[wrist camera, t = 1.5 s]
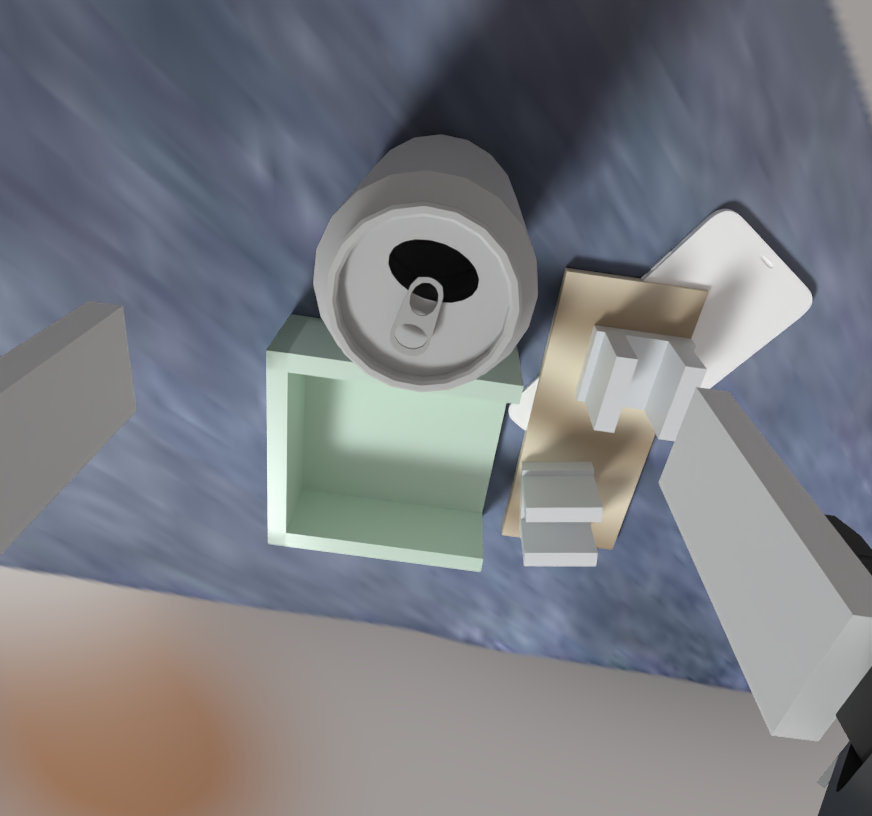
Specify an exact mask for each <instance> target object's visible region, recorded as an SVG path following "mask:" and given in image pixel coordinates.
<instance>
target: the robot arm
mask: <svg viewBox="0 0 872 816" xmlns="http://www.w3.org/2000/svg"><path fill="white" fill-rule="evenodd" d="M135 412H136V403H135V395H134V388H133V380H132V372H131V365H130V357H129V349H128V341H127V334H126V326H125V318H124V311H123V306H121V305H114V304H107V303H100V302H93V301H88V302H86V303H85V304H83V305H81V306H80V307H78V308H77V309H75V310H74V311H72V312H70V313H69V314H67V315H66V316H64V317H63V318H61V319H59V320H58V321H56V322H55V323H53V324H52V325H50V326H48V327H47V328H45V329H44V330H42V331H41V332H39V333H37V334H36V335H34V336H33V337H31V338H30V339H28V340H27V341H25V342H23V343H22V344H20V345H19V346H17V347H16V348H14V349H12V350H11V351H9V352H8V353H6V354H5V355H3V356H1V357H0V555H1V554H2V553H3V552H4V551H5V550H6V549H7V548H8V547H9V546H10V544H11V543H12V542H13V541H14V540H15V539H16V538H17V537H18V536H19V535H20V534H21V533H22V532H23V531H24V530H25V529H26V527H27V526H28V525H29V524H30V523H31V522H32V521H33V520H34V519H35V518H36V517H37V516H38V515H39V514H40V513H41V512H42V511H43V509H44V508H45V507H46V506H47V505H48V504H49V503H50V502H51V501H52V500H53V499H54V498H55V497H56V496H57V495H58V494H59V493H60V491H61V490H62V489H63V488H64V487H65V486H66V485H67V484H68V483H69V482H70V481H71V480H72V479H73V478H74V477H75V476H76V475H77V473H78V472H79V471H80V470H81V469H82V468H83V467H84V466H85V465H86V464H87V463H88V462H89V461H90V460H91V459H92V458H93V456H94V455H95V454H96V453H97V452H98V451H99V450H100V449H101V448H102V447H103V446H104V445H105V444H106V443H107V442H108V441H109V440H110V438H111V437H112V436H113V435H114V434H115V433H116V432H117V431H118V430H119V429H120V428H121V427H122V426H123V425H124V424H125V423H126V422H127V420H128V419H129V418H130V417H131V416H132V415H133V414H134V413H135ZM659 485H660V487H661V489H662V492H663V494H664V496H665V498H666V501H667V503H668V505H669V507H670V510H671V512H672V514H673V516H674V519H675V521H676V523H677V525H678V528H679V530H680V532H681V534H682V537H683V539H684V541H685V543H686V546H687V548H688V550H689V552H690V554H691V557H692V559H693V561H694V563H695V566H696V568H697V570H698V572H699V575H700V577H701V579H702V581H703V584H704V586H705V588H706V590H707V593H708V595H709V597H710V599H711V602H712V604H713V606H714V608H715V611H716V613H717V615H718V617H719V620H720V622H721V624H722V626H723V629H724V631H725V633H726V635H727V638H728V640H729V642H730V644H731V647H732V649H733V651H734V653H735V656H736V658H737V660H738V662H739V665H740V667H741V669H742V671H743V673H744V676H745V678H746V680H747V682H748V685H749V687H750V689H751V691H752V694H753V696H754V698H755V700H756V703H757V705H758V707H759V709H760V712H761V714H762V716H763V718H764V721H765V723H766V725H767V727H768V729H769V732H770V734H771V735H772V736H780V737H789V738H796V739H804V740H811V741H819V740H820V738H821V737H822V736H823V734H824V733H825V732H826V730H827V729H828V728H829V726H830V725H831V724H832V722H833V721H834V720H835V718H836V717H837V718H838V720H839V722H840V724H841V726H842V728H843V729H844V731H845V733H846V734H847V737H848V738H849V740H850V741H849V742H848V744H847V745H846V746H845V748H844V749H843V750H842V751H841V752H840V754H839V755H838V756H837V757H836V759H835V760H834V761H833V762H832V764H831V765H830V766H829V768H828V769H827V770H826V772H825V773H824V774H823V775H822V776H821V778H820V779H819V780H818V781H817V783H818V784H820V785H821V786H822V787H825V786H826V785H827V784H828V783H829V785H828V787H827V790H826V793H825V796H824V799H823V802H822V805H821V808H820V811H819V814H818V816H872V549H871V548H870V547H869V546H868V544H867V543H866V542H865V541H864V539H863V538H862V537H861V536H860V535H859V534H857V533H856V532H855V531H854V530H852V529H851V528H850V527H848V526H847V525H846V524H844V523H843V522H842V521H841V520H839V519H838V518H837V517H835V516H831V515H824V514H823V512H822V511H821V510H820V508H819V507H818V506H817V505H816V503H815V502H814V501H813V499H812V498H811V497H810V496H809V494H808V493H807V492H806V490H805V489H804V488H803V487H802V485H801V484H800V483H799V481H798V480H797V479H796V478H795V476H794V475H793V474H792V472H791V471H790V470H789V469H788V467H787V466H786V465H785V463H784V462H783V461H782V460H781V458H780V457H779V456H778V454H777V453H776V452H775V451H774V449H773V448H772V447H771V445H770V444H769V443H768V442H767V440H766V439H765V438H764V436H763V435H762V434H761V433H760V431H759V430H758V429H757V427H756V426H755V425H754V424H753V422H752V421H751V420H750V418H749V417H748V416H747V415H746V413H745V412H744V411H743V409H742V408H741V407H740V406H739V404H738V403H737V402H736V400H735V399H734V398H733V397H732V395H731V394H730V393H729V392H727V391H720V390H713V389H706V388H699V387H696V389H695V391H694V394H693V396H692V399H691V401H690V404H689V406H688V409H687V411H686V414H685V417H684V419H683V422H682V424H681V427H680V429H679V432H678V434H677V437H676V440H675V442H674V445H673V447H672V450H671V452H670V455H669V457H668V460H667V462H666V465H665V468H664V470H663V473H662V475H661V478H660V480H659Z"/></svg>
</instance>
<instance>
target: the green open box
mask: <svg viewBox="0 0 872 816" xmlns="http://www.w3.org/2000/svg"><path fill="white" fill-rule="evenodd" d="M266 377H267V490H268V544H272V545H280V546H287V547H295V548H303V549H310V550H318V551H325V552H333V553H340V554H348V555H356V556H363V557H371V558H378V559H386V560H394V561H401V562H409V563H416V564H424V565H432V566H439V567H447V568H454V569H462V570H469V571H477V572H480V571H481V567H482V563H483V527H482V512H483V507H484V503H485V498H486V493H487V489H488V484H489V480H490V475H491V471H492V466H493V462H494V457H495V453H496V448H497V444H498V439H499V434H500V430H501V425H502V421H503V416H504V412H505V407H506V403H511V404H520V400H521V395H522V391H523V387H524V385H523V379H522V373H521V367H520V361H519V354H518V348H517V346H515V348H514V349H513V351H512V352H511V354H510V355H509V356H507V357H506V358H505V359H503V360H502V361H501V362H500V363H498V364H497V365H496V366H494V367H493V368H492V369H491V370H489V371H488V372H487V373H485V374H484V375H481V376H480V377H478V378H477V379H476V380H473V381H471V382H468V383H466V384H463V385H460V386H458V387H455V388H453V389H450V390H443V391H431V392H415V391H410V390H405V389H400V388H395V387H391V386H389V385H387V384H385V383H383V382H381V381H379V380H377V379H375V378H373V377H371V376H369V375H367V374H365V373H364V372H363V371H362V370H361V369H360V368H359V367H358V366H357V365H356V364H355V363H353V362H352V361H351V360H350V359H349V358H348V357H347V356H346V355H345V354H344V353H343V351H342V349H341V348H340V347H339V346H338V345H337V344H336V342H335V340H334V338H333V337H332V335H331V333H330V332H329V330H328V328H327V327H326V325H325V323H324V321H323V320H322V318H315V317H308V316H301V315H294V314H291V315H290V316H289V318H288V319H287V321H286V322H285V323H284V325H283V326H282V328H281V329H280V331H279V332H278V334H277V335H276V337H275V338H274V340H273V341H272V342H271V344H270V345H269V347H268V348H267V350H266Z"/></svg>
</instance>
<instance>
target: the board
mask: <svg viewBox="0 0 872 816" xmlns="http://www.w3.org/2000/svg"><path fill="white" fill-rule="evenodd" d="M707 295H708V291H707V290H703V289H696V288H689V287H682V286H675V285H669V284H662V283H655V282H648V281H643V280H642V279H640V278H634V277H627V276H620V275H613V274H606V273H599V272H592V271H585V270H578V269H572V268H565V271H564V275H563V279H562V283H561V287H560V291H559V295H558V300H557V304H556V308H555V312H554V316H553V320H552V324H551V328H550V332H549V336H548V340H547V344H546V349H545V353H544V357H543V361H542V365H541V369H540V373H539V381H538V385H537V389H536V393H535V397H534V401H533V405H532V409H531V413H530V417H529V421H528V425H527V429H526V431H525V434H524V438H523V442H522V446H521V451H520V455H519V459H518V463H517V467H516V471H515V475H514V479H513V483H512V487H511V491H510V495H509V500H508V504H507V508H506V512H505V516H504V520H503V524H502V528H501V530H502V535H506V536H513V537H520V530H519V523H520V493H521V463H522V462H592V464H593V467H594V479H595V482H596V485H597V489H598V492H599V496H600V499H601V503H602V506H603V511H602V520H601V522H590V526H591V529H592V533H593V537H594V541H595V545H596V548H603V549H610V550H612V549H613V546H614V544H615V541H616V538H617V536H618V533H619V530H620V528H621V525H622V522H623V520H624V517H625V514H626V512H627V509H628V506H629V504H630V501H631V498H632V496H633V493H634V490H635V488H636V485H637V482H638V479H639V477H640V474H641V471H642V469H643V466H644V463H645V461H646V458H647V455H648V453H649V450H650V447H651V445H652V442H653V439H654V437H655V434H656V433H655V431H654V429H653V427H652V425H651V423H650V421H649V419H648V417H647V415H646V413H645V411H644V410H639V409H632V408H625V407H622V410H621V413H620V416H619V419H618V422H617V425H616V428H615V431H614V433H611V432H604V431H597V430H594V429H593V426H592V423H591V420H590V417H589V414H588V411H587V408H586V405H585V402H582V401H577V399H576V396H575V391H576V387H577V384H578V380H579V377H580V373H581V370H582V366H583V363H584V359H585V355H586V352H587V348H588V345H589V341H590V338H591V334H592V331H593V327H594V325H599V326H606V327H613V328H620V329H627V330H634V331H641V332H648V333H655V334H662V335H669V336H676V337H683V338H690V339H691V338H692V335H693V332H694V330H695V327H696V324H697V322H698V319H699V316H700V314H701V311H702V308H703V306H704V303H705V300H706V298H707Z"/></svg>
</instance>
